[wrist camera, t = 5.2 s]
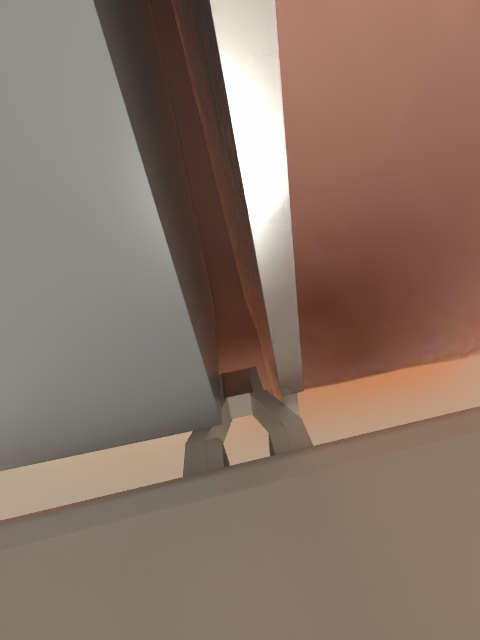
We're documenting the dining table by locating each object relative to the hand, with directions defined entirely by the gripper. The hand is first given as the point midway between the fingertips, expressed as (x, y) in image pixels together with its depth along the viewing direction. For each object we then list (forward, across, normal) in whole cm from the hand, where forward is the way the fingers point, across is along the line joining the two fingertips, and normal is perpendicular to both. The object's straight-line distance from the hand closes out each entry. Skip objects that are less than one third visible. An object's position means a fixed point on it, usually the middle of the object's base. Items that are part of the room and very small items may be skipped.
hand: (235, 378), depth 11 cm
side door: (+5, -2, -8) cm, 9 cm away
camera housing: (+5, +5, -10) cm, 13 cm away
